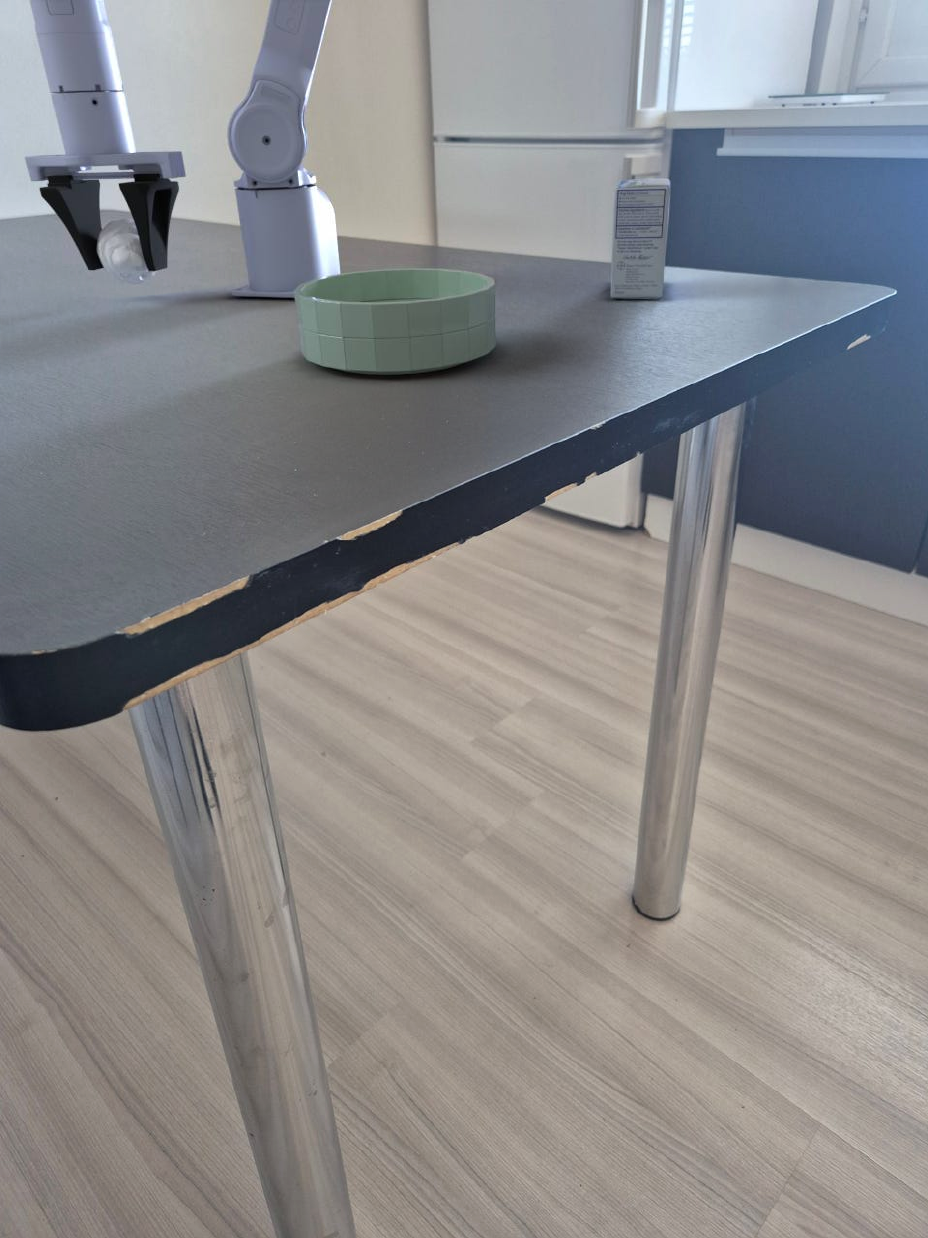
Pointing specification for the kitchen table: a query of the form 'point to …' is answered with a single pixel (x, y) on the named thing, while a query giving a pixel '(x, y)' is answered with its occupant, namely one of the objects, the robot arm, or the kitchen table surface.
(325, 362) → the bowl
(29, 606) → the kitchen table surface
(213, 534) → the kitchen table surface
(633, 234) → the medicine box
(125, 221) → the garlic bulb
